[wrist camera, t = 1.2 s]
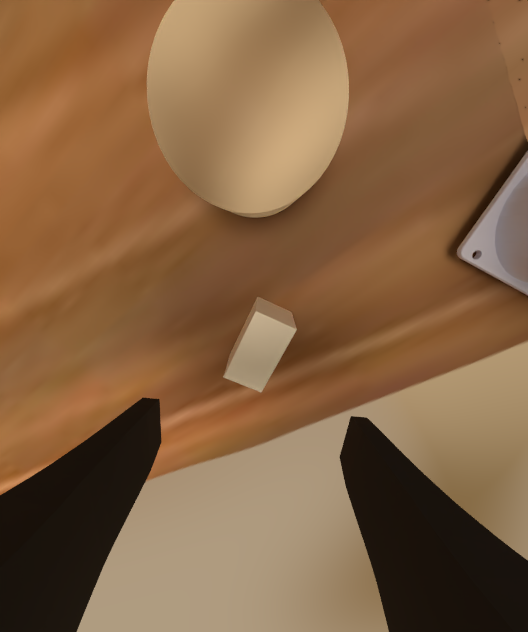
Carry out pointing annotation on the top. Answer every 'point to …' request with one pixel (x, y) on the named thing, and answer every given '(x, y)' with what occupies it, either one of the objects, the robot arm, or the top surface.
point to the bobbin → (248, 99)
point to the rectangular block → (260, 345)
